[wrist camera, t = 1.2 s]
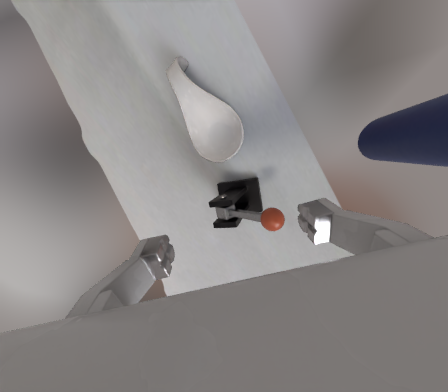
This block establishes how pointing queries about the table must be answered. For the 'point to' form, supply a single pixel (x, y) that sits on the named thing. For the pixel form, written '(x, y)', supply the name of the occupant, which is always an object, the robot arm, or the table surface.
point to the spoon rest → (206, 117)
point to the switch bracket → (237, 199)
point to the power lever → (254, 216)
